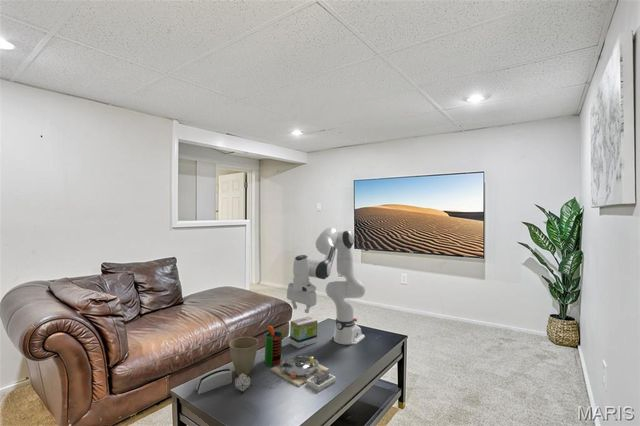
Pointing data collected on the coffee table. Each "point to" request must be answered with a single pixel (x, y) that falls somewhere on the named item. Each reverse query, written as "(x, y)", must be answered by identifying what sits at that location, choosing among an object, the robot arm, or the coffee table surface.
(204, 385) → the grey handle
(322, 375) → the gray banded block
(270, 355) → the motor
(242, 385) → the game die
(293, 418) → the coffee table surface
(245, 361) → the plant pot
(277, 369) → the sprocket base
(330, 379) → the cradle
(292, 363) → the sprocket
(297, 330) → the tea box
